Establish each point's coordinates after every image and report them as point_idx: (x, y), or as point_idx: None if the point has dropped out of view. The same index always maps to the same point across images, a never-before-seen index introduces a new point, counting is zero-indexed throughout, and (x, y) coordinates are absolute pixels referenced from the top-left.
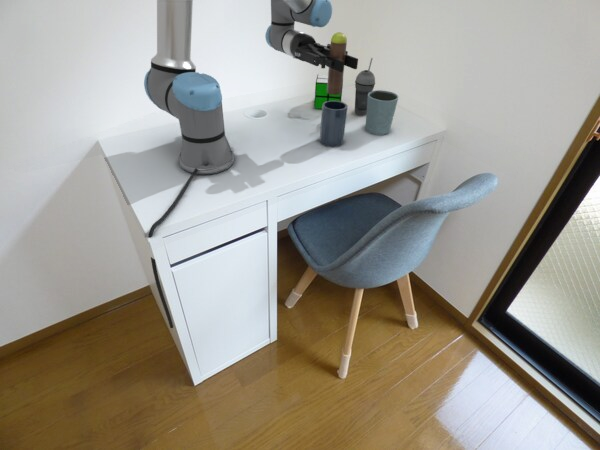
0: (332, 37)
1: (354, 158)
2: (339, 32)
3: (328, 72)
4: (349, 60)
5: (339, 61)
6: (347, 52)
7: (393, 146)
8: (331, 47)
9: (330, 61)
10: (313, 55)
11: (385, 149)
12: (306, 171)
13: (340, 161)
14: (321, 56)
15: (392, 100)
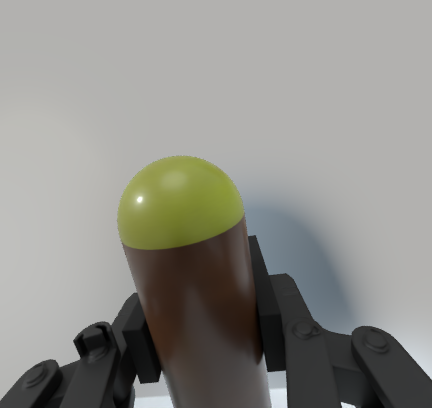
0: (229, 187)
1: None
2: (173, 156)
3: (265, 405)
4: None
5: (258, 245)
6: (46, 363)
7: (137, 400)
8: (248, 249)
9: (288, 276)
10: (429, 385)
11: (163, 397)
12: None
13: None
14: (326, 342)
15: None
